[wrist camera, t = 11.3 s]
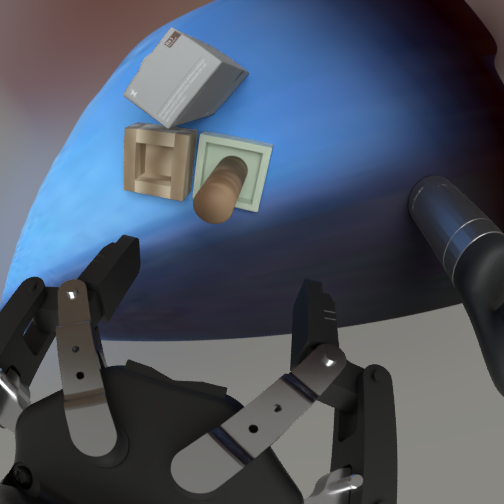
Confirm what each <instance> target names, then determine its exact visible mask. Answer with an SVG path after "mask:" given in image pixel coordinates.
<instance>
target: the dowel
mask: <svg viewBox="0 0 504 504" xmlns="http://www.w3.org/2000/svg"><path fill="white" fill-rule="evenodd" d="M247 174H248V168H247V165H246V163H245V162H244V161H243V160H242V159H241V158H239V157H237V156H227V157H224V158H223V159H222V160H221V161H220V162H219V163H218V165H217V166H216V167H215V169H214V170H213V171H212V173H211V174H210V176H209V177H208V178H207V180H206V181H205V182H204V184H203V185H202V187H201V188H200V189H199V191H198V192H197V194H196V195H195V197H194V200H193V207H194V210H195V212H196V214H197V215H198V216H199V217H200V218H201V219H202V220H204V221H205V222H208V223H212V224H219V223H223V222H225V221H226V220H228V219H229V218H230V216H231V215H232V212H233V210H234V207H235V204H236V202H237V199H238V197H239V194H240V192H241V189H242V187H243V184H244V182H245V179H246V177H247Z"/></svg>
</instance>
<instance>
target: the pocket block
mask: <svg viewBox="0 0 504 504" xmlns="http://www.w3.org/2000/svg"><path fill="white" fill-rule="evenodd" d="M197 135H198V130H195V129H188V128H181V127H171V128H169V129H168V128H166V127H165V126H164V125H156V124H147V123H136V124H133V125H131V126H128V127H126V128H125V136H124V190H127V191H132V192H137V193H143V194H148V195H153V196H158V197H163V198H168V199H173V200H178V201H183V200H184V199H185V198H186V196H187V195H188V194H189V193H190V191H191V185H192V176H193V167H194V158H195V150H196V142H197Z"/></svg>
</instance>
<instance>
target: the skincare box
mask: <svg viewBox="0 0 504 504" xmlns="http://www.w3.org/2000/svg"><path fill="white" fill-rule="evenodd" d="M248 74H249V72H248V71H247V70H246V69H244V68H243V67H242V66H240V65H239V64H238V63H236V62H235V61H234V60H232V59H231V58H229V57H228V56H226V55H225V54H223V53H222V52H220V51H219V50H217V49H216V48H214V47H212V46H210V45H208V44H206V43H204V42H202V41H200V40H198V39H196V38H194V37H191V36H189V35H187V34H185V33H183V32H180V31H178V30H176V29H174V28H170V29H169V31H168V32H167V33H166V34H165V36H164V37H163V38H162V39H161V41H160V42H159V43H158V45H157V46H156V47H155V49H154V50H153V51H152V53H151V54H149V55H148V56H146V57H145V58H144V60H143V61H142V63H141V66H140V69H139V71H138V72H137V74H136V75H135V77H134V78H133V80H132V81H131V83H130V84H129V86H128V87H127V89H126V91H125V92H124V97H125V98H127V99H128V100H130V101H131V102H132V103H134V104H135V105H136V106H138V107H139V108H141V109H142V110H143V111H145V112H146V113H147V114H149V115H150V116H152V117H153V118H154V119H156V120H157V121H158V122H160V123H161V124H162V125H164V126H165V127H166V128H168V129H169V128H171V127H174V126H177V125H180V124H183V123H187V122H190V121H193V120H197V119H200V118H204V117H207V116H211V115H214V114H215V112H216V111H217V110H218V109H219V108H220V107H221V106H222V105H223V103H224V102H225V101H226V100H227V99H228V98H229V97H230V96H231V94H232V93H233V92H234V91H235V90H236V89H237V87H238V86H239V85H240V84H241V83H242V81H243V80H244V79H245V78H246V76H247V75H248Z"/></svg>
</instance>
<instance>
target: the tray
mask: <svg viewBox="0 0 504 504" xmlns="http://www.w3.org/2000/svg"><path fill="white" fill-rule="evenodd" d="M272 147H273V144H269V143H265V142H260V141H256V140H251V139H246V138H241V137H236V136H231V135H225V134H220V133H214V132H208V131H204V132H202V133H201V134H200V138H199V146H198V153H197V161H196V170H195V179H194V188H193V198H194V197H195V195H196V194H197V192H198V191H199V189H200V188H201V187H202V185H203V184H204V182H205V181H206V180H207V178H208V177H209V176H210V174H211V173H212V171H213V170H214V169H215V167H216V166H217V165H218V163H219V162H220V161H221V160H222V159H223V158H224V157H227V156H237V157H239V158H241V159H242V160H243V161H244V162H245V163H246V165H247V168H248V174H247V177H246V179H245V182H244V184H243V187H242V189H241V192H240V194H239V197H238V199H237V202H236V204H235V207H236V208H241V209H245V210H250V211H254V212H258V208H259V204H260V200H261V195H262V191H263V186H264V182H265V178H266V173H267V169H268V165H269V160H270V156H271V152H272Z"/></svg>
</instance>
